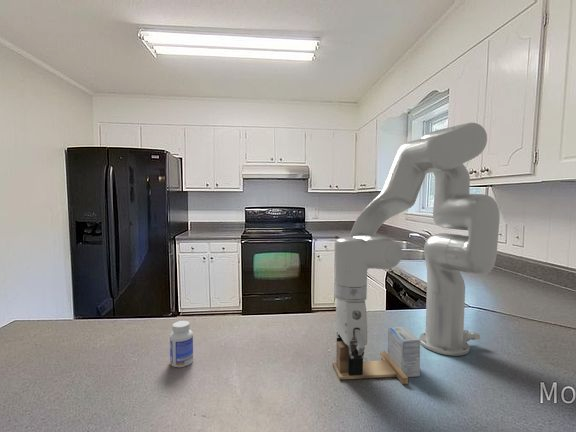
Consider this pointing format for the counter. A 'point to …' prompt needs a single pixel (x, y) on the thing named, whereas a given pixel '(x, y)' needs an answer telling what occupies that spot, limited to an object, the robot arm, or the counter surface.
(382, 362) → the wooden t-shaped piece
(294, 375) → the counter surface
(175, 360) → the pill bottle
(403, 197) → the robot arm
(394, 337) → the medicine box
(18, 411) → the counter surface
